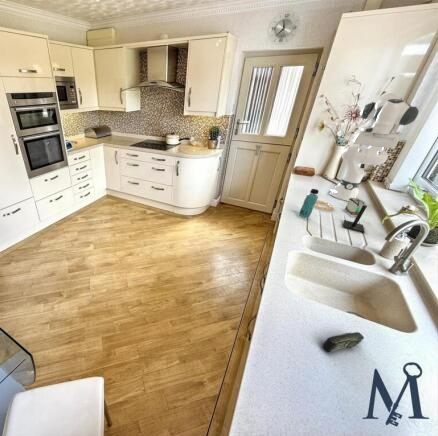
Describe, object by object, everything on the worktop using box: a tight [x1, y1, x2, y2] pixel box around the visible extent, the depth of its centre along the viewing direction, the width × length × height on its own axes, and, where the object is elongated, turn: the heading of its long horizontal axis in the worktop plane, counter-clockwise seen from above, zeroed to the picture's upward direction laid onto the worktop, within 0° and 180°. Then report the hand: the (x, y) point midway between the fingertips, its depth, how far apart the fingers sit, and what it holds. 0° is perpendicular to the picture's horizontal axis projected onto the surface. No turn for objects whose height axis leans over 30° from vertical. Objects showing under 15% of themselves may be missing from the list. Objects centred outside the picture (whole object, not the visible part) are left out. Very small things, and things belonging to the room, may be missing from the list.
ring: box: [313, 199, 334, 211], centre depth 170 cm, size 14×14×2 cm
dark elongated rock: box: [322, 331, 365, 353], centre depth 77 cm, size 5×3×15 cm
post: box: [342, 204, 368, 234], centre depth 143 cm, size 10×10×15 cm
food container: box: [344, 197, 366, 217], centre depth 159 cm, size 12×6×10 cm, turn 168°
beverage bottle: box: [298, 188, 319, 219], centre depth 150 cm, size 6×7×20 cm
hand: (368, 153), depth 145 cm, fingers open, 8 cm apart
